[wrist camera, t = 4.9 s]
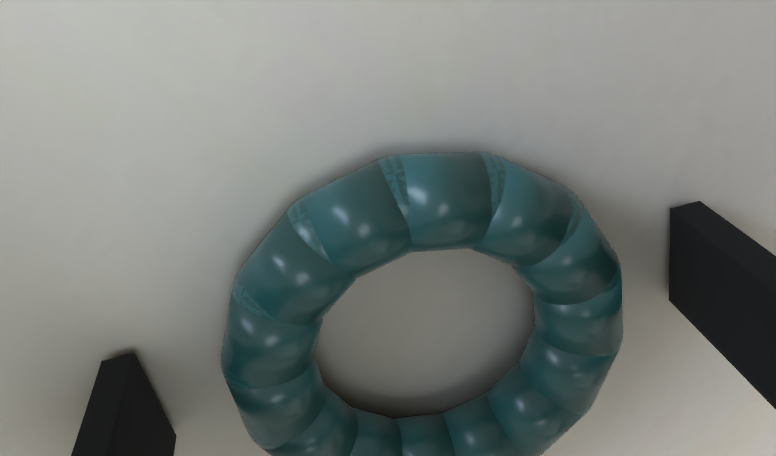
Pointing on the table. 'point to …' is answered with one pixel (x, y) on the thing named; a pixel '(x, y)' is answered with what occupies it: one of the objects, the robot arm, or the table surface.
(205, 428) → the table surface
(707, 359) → the table surface
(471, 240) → the teal beaded ring
